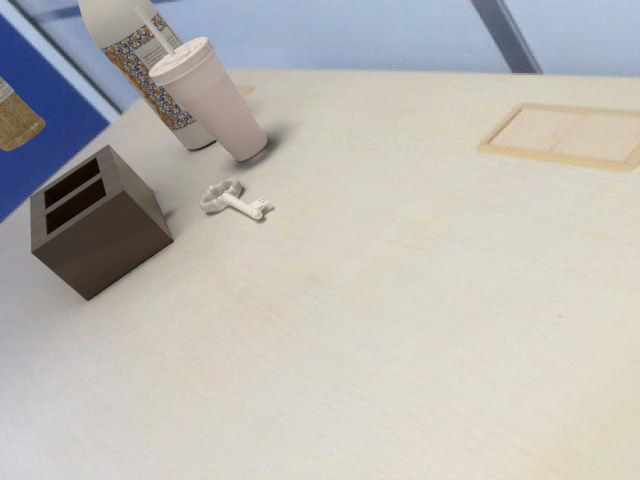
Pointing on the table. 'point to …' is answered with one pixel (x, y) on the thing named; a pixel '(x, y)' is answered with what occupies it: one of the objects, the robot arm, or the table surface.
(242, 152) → the smoothie
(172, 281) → the table surface
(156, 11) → the bath foam
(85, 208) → the two-slot toaster box
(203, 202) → the key
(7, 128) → the sprinkles bottle
